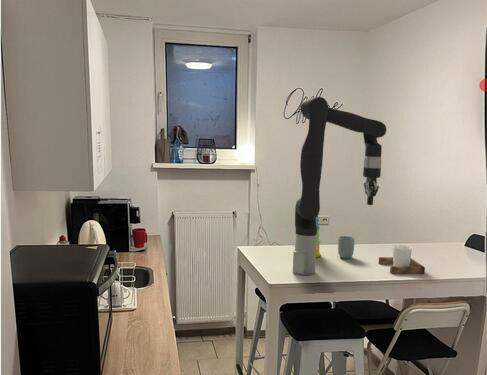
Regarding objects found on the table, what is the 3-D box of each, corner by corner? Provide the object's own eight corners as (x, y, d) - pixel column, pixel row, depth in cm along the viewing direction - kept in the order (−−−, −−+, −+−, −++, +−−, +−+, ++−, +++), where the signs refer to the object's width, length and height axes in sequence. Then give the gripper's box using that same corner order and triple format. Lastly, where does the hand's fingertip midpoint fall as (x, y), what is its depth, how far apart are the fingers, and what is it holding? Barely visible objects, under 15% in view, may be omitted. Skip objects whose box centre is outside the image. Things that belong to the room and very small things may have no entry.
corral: (391, 273, 186) (391, 267, 186) (378, 263, 201) (378, 257, 200) (424, 273, 187) (424, 267, 186) (409, 263, 202) (409, 257, 201)
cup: (352, 255, 212) (353, 236, 211) (354, 260, 204) (355, 240, 203) (336, 254, 213) (337, 235, 212) (338, 259, 205) (339, 239, 204)
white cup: (398, 271, 189) (400, 250, 188) (388, 266, 196) (389, 245, 195) (413, 270, 191) (415, 249, 189) (403, 265, 198) (404, 244, 197)
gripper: (386, 168, 183) (383, 207, 185) (375, 165, 196) (372, 202, 198) (369, 167, 182) (366, 207, 185) (359, 165, 196) (356, 202, 198)
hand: (369, 204), depth 192 cm, fingers closed
